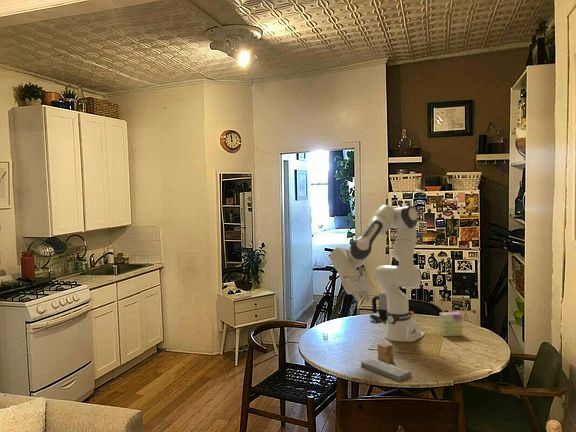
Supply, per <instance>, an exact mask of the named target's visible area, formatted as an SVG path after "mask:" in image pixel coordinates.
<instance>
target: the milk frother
mask: <svg viewBox="0 0 576 432" xmlns="http://www.w3.org/2000/svg"><path fill="white" fill-rule="evenodd" d="M377 300H378V308H377ZM371 306H372V307H371V308H372V313H373V314H369V317H370V319H371V320H373V321H375V322H376V323H377V322H379V323H380V322H382V320H383V321H387V298H386V294H385V292H384V293H380V294H378V295H375V296H373V297H372V298H371ZM377 309H378V310H377ZM377 311H378V315H379V316H377V315H375V314H376V313H377Z"/></svg>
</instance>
